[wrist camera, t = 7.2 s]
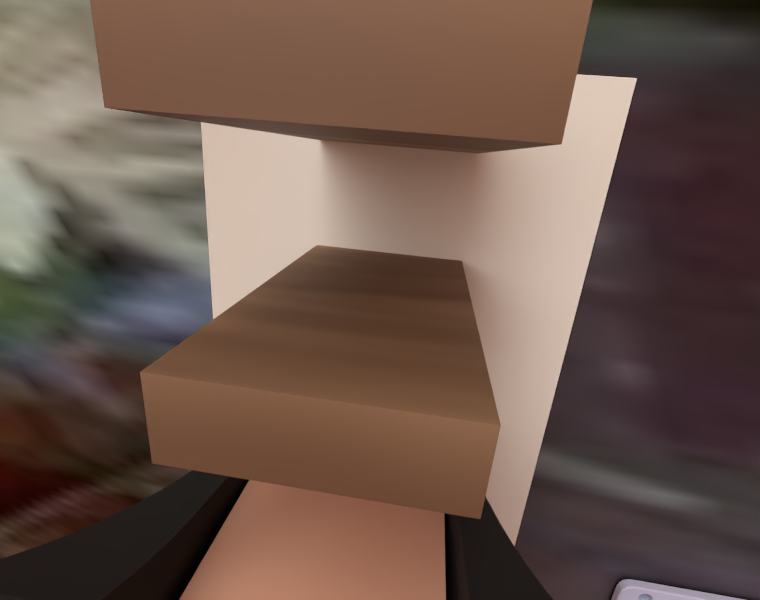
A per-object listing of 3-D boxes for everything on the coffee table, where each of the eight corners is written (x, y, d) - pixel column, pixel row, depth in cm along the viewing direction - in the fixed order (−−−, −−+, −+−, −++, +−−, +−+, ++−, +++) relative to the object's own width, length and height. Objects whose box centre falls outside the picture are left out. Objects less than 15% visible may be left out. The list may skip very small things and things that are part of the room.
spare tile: (306, 382, 15) (138, 668, 7) (442, 402, 15) (448, 739, 6) (305, 419, 16) (149, 726, 7) (436, 439, 15) (435, 794, 7)
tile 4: (316, 244, 14) (140, 372, 6) (462, 260, 14) (500, 425, 5) (315, 288, 15) (152, 463, 6) (455, 305, 14) (480, 519, 6)
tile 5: (321, 84, 12) (80, -70, 4) (487, 95, 12) (603, -51, 4) (319, 140, 13) (105, 106, 5) (478, 153, 13) (561, 144, 4)
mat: (632, 80, 12) (636, 78, 11) (485, 648, 20) (485, 655, 20) (201, 52, 13) (196, 50, 13) (233, 598, 21) (230, 604, 21)
